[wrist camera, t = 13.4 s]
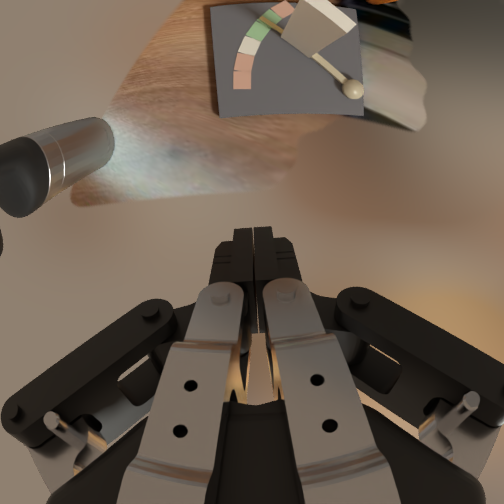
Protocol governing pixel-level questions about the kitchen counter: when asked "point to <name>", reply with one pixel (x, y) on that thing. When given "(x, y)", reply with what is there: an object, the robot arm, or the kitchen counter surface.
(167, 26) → the kitchen counter surface
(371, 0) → the carrot
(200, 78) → the kitchen counter surface
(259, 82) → the gauge dial plate
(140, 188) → the kitchen counter surface
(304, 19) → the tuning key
